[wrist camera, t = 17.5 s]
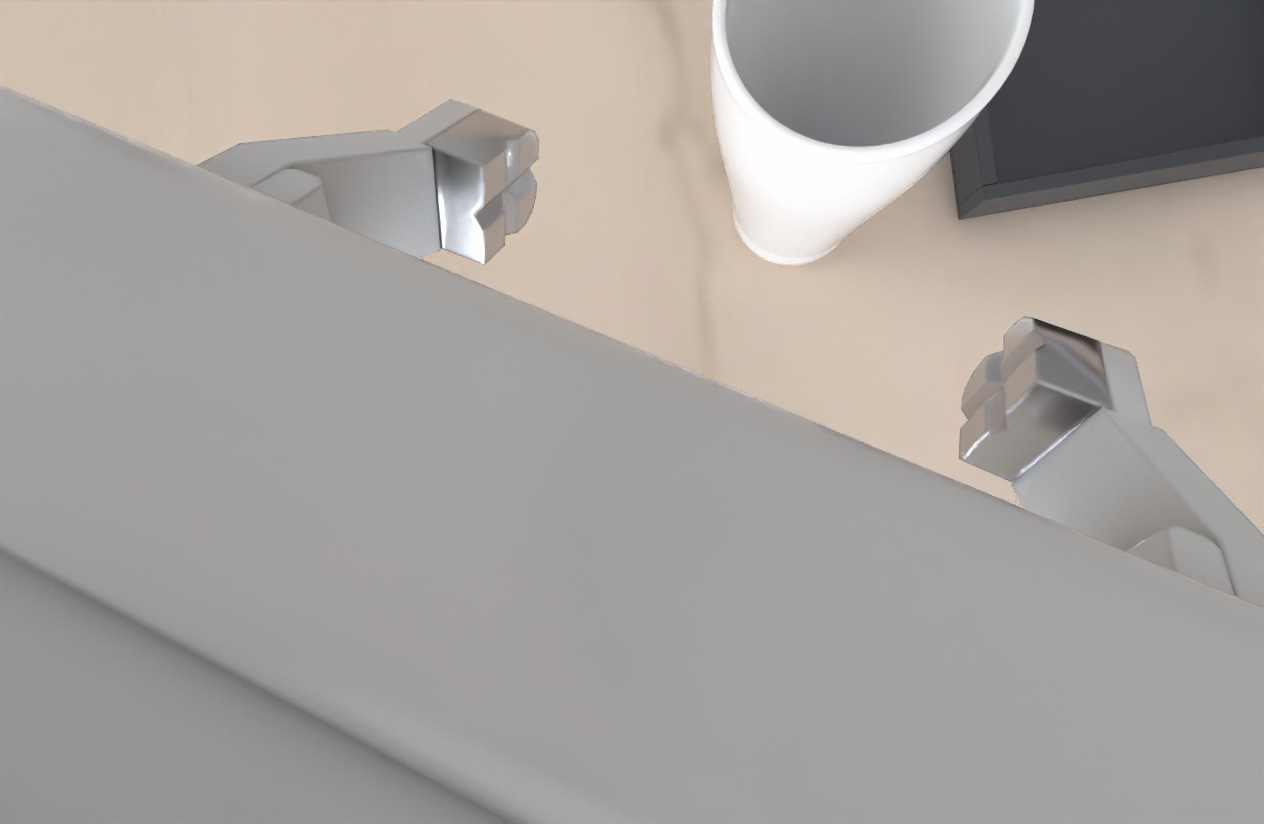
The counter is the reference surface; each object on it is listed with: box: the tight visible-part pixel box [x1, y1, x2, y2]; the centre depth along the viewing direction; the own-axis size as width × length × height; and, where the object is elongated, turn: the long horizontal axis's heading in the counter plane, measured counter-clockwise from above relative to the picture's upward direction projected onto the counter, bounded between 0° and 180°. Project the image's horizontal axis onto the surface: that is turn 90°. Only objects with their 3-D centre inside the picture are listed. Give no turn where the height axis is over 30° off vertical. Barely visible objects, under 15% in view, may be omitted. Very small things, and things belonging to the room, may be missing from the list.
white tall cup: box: [710, 0, 1035, 265], centre depth 20 cm, size 7×7×15 cm
